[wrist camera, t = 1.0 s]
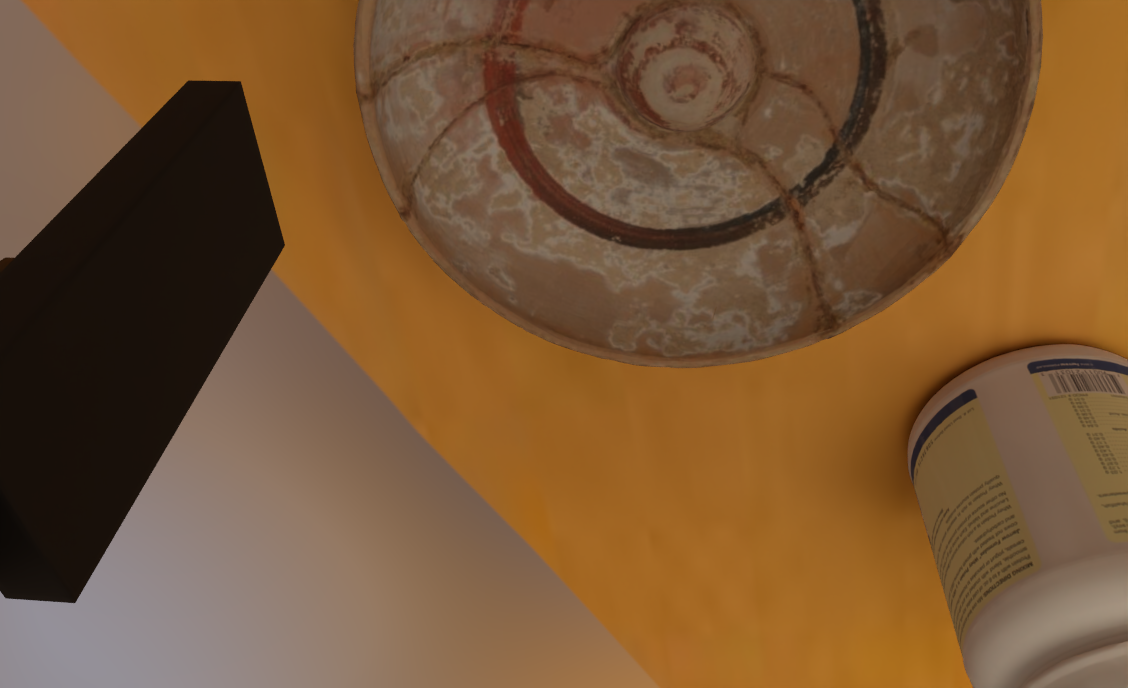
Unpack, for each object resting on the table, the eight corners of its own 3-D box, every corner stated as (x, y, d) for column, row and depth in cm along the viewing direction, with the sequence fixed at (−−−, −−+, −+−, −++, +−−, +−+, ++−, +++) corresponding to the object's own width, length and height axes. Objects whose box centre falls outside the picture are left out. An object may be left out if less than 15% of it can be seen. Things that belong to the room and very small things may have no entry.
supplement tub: (962, 532, 51) (1064, 850, 38) (858, 404, 45) (935, 725, 32) (1197, 447, 45) (1410, 787, 32) (1110, 289, 40) (1326, 622, 27)
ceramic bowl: (640, 379, 46) (637, 450, 42) (269, 26, 35) (220, 78, 32) (1110, 108, 34) (1165, 172, 31) (766, -517, 24) (784, -539, 20)
